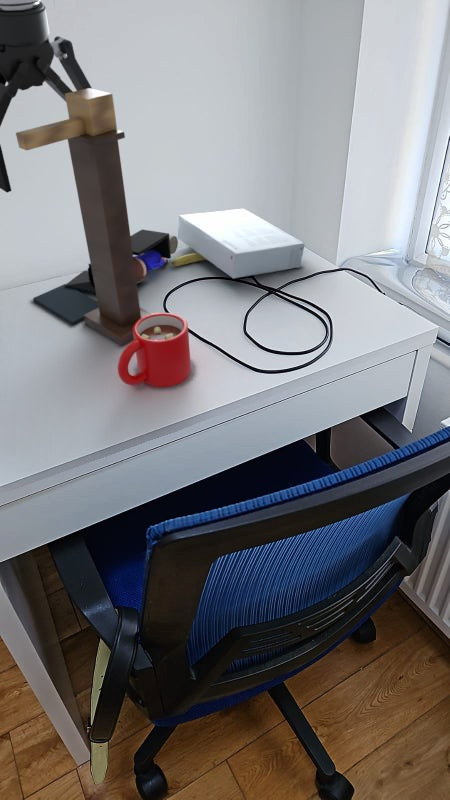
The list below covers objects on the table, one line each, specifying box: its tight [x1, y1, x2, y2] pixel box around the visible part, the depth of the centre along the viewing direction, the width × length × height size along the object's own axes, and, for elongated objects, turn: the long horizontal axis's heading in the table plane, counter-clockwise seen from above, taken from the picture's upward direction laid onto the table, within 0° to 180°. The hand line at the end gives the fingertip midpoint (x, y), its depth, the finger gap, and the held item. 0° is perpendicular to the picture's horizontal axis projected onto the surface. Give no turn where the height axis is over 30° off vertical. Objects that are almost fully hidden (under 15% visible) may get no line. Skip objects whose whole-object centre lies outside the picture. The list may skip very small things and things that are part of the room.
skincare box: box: [177, 208, 306, 279], centre depth 114 cm, size 21×6×16 cm
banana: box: [171, 252, 208, 267], centre depth 113 cm, size 8×2×4 cm
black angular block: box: [65, 262, 143, 295], centre depth 106 cm, size 12×7×5 cm, turn 69°
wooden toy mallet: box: [15, 88, 118, 151], centre depth 74 cm, size 13×5×4 cm, turn 137°
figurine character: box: [130, 229, 179, 283], centre depth 110 cm, size 7×8×15 cm
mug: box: [117, 312, 192, 388], centre depth 84 cm, size 8×12×8 cm, turn 138°
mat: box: [32, 283, 99, 326], centre depth 103 cm, size 12×7×1 cm, turn 47°
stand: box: [67, 129, 152, 346], centre depth 88 cm, size 8×10×31 cm
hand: (45, 174), depth 85 cm, fingers open, 13 cm apart
